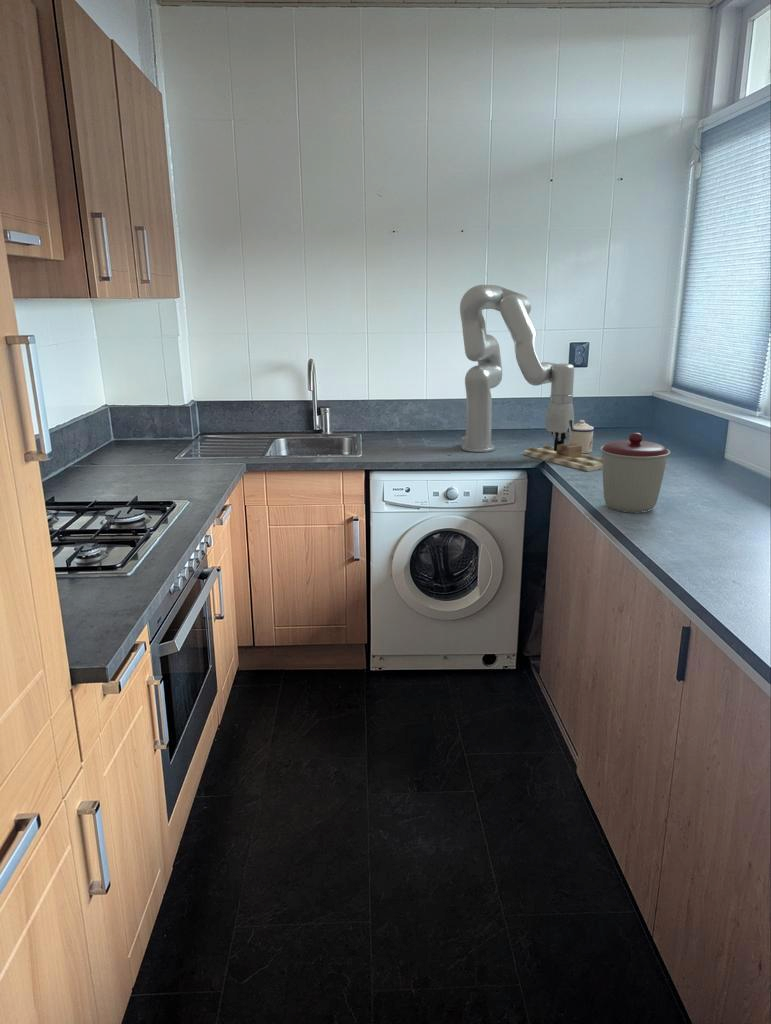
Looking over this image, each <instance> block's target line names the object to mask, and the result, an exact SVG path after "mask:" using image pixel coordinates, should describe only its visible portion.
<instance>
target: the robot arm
mask: <svg viewBox="0 0 771 1024" xmlns="http://www.w3.org/2000/svg"><path fill="white" fill-rule="evenodd" d="M531 309H532V302H531V300H530V299H529V298H528V297H527V295H524V294H522V293H519V292H516V291H513V290H511V289H507V288H506V287H503V286H500V285H496V284H479V285H474V286H473V287H471V288H469V289H467V290H466V292H465V293H464V294H463V296H462V297H461V299H460V303H459V314H460V321H461V328H462V336H463V346H464V347H463V348H464V353H465V356H466V358H467V359H468V360H469V361H470V362H477V365H474V366H471V367H470V368H469V370H467V372H466V374H465V377H464V387H465V388H464V389H465V394H466V405H465V406H466V413H465V415H466V419H465V420H466V421H465V423H466V425H465V435H464V436H462V437H461V440H462V441H464V444H462V445H461V449H462V450H463V451H465V452H471V453H485V452H492V451H495V448H496V447H495V445H494V444H493V443H492V419H493V418H492V415H493V398H492V394H491V393H492V392H491V389H494V388H496V387H498V386H499V385H500V383H501V382H502V380H503V365H502V358H501V355H502V354H501V348H500V344H499V342H498V340H497V339H496V337H494V336H493V335H491V334H488V333H487V329H486V328H487V327H486V320H485V318H484V315H483V310H494V311H498V312H500V315H501V317H502V320H503V321H504V324H505V325H506V326H505V327H506V328H507V330H508V332H509V335H510V336H511V338H512V341H513V344H514V354H515V359H516V362H517V365H518V368H519V370H520V372H521V374H522V376H523V378H524V380H525V381H526V382H527V383H528V384H529V385H531V386H533V387H535V386H541V385H546V384H551V386H550V395H549V398H550V402H548V405H547V409H546V410H547V411H546V414H545V415H546V416H545V430H546V431H547V432H548V433H549V434H551V435H552V439H553V440H554V442H553V443H554V444H553V445H554V446H553V447H554V451H557V445H558V444H565V440H566V439H567V437H568V438H569V436H572V431H573V429H574V425H575V411H574V404H573V398H574V379H575V378H574V377H575V366H574V365H573V364H571V363H554V362H548V361H543V362H540V359H539V358H538V355H537V353H536V350H535V339H536V336H537V330H536V327H535V326H534V323H533V321H532V319H531V317H530V315H529V314H530V313H531Z"/></svg>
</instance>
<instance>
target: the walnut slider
mask: <svg viewBox="0 0 771 1024" xmlns="http://www.w3.org/2000/svg"><path fill="white" fill-rule="evenodd" d="M581 452H582V446H581V445H577V444H573V443H569V442H567V443H566V442H564V444H558V445H557V454H559V455H563V456H567V457H571V458H577V457H581Z"/></svg>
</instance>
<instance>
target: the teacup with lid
mask: <svg viewBox="0 0 771 1024" xmlns="http://www.w3.org/2000/svg"><path fill="white" fill-rule="evenodd" d="M594 431H595V428H594V426H592V425H589V424H588V423H586V422H585V420H583V419H580V420H579V421H578V423H574V429H573V431H572V436H568V443H573V444H577V445H581V446H582V452H581V454H584V455H585V454H590V453H592V452H593V443H594V441H593V440H594Z"/></svg>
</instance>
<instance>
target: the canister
mask: <svg viewBox="0 0 771 1024" xmlns="http://www.w3.org/2000/svg"><path fill="white" fill-rule="evenodd" d="M643 438H644V437H643V435H642V434H641V433H640V432H631V434H629V435H628V439H623V440H622V439H621V440H614V441H610V442H607V443H606V444H604V445H602V446H600V447H599V451H600V452H601V459H602V466H603V469H602V485H603V487H602V488H603V498H604V502H605V504H606V506H607V507H608V508H610V509H612V510H614V511H617V510H619V511H618V512H621V511H626V512H625V513H629V512H641V513H643V512H642V511H647V512H649V511H648V510H650V509H651V510H653V509H654V507H655V506H656V504H657V502H658V499H659V494H660V490H661V486H662V482H663V479H664V475H665V469H666V464H667V459H668V456H669V455H671V450H670V449H668V448H666V447H665V446H664V445H663V444H659V443H656V442H653V441H652V442H651V441H646V440H643ZM651 510H650V511H651Z"/></svg>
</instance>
